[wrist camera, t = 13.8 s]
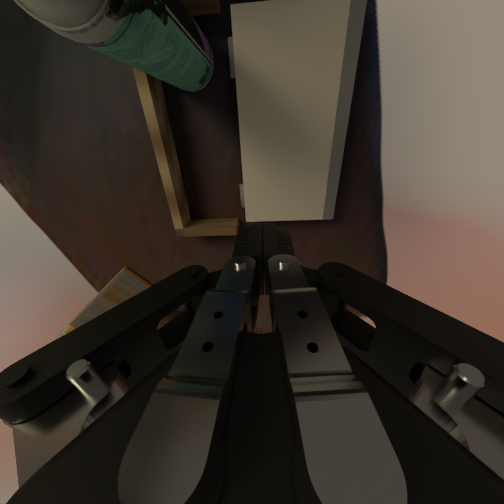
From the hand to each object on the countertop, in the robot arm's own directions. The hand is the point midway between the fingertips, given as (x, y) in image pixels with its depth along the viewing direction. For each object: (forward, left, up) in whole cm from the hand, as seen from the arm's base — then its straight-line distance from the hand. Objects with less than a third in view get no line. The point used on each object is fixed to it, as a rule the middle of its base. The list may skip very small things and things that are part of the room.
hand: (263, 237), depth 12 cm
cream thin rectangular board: (-5, -3, -17) cm, 18 cm away
